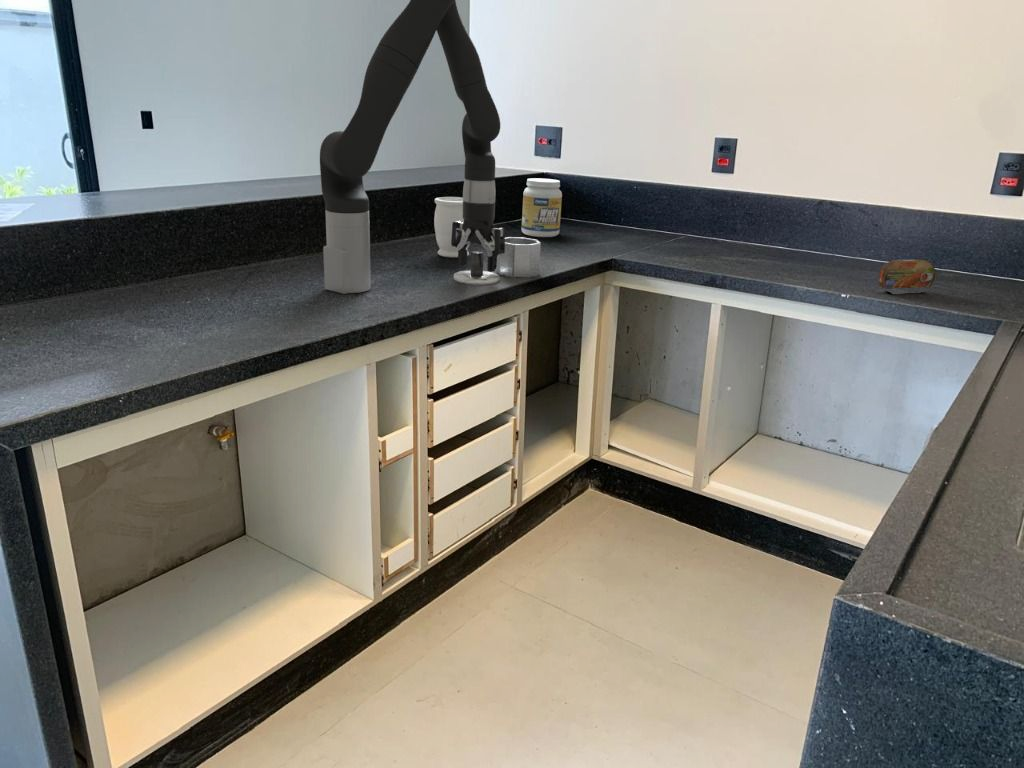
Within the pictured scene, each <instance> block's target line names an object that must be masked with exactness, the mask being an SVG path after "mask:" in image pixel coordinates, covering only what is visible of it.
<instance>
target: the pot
mask: <svg viewBox="0 0 1024 768" xmlns="http://www.w3.org/2000/svg"><path fill="white" fill-rule="evenodd" d="M541 244H542V243H541V242H540V241H539V240H538V239H534V238H529V237H528V238H527V237H523V236H522V237H519V236H518V237H515V236H514V237H512V236H509V237H508V236H507V237H505V253H503V254H499V255H498V256H497V267H496V273H498V275H499V276H503V275H505V276H504V277H508V276H511V277H510V278H516V277H528V279H529V278H533V277H537V276H539V275H540V263H541V262H540V261H541V260H540V259H541V258H540V257H541Z"/></svg>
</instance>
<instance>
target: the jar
mask: <svg viewBox="0 0 1024 768" xmlns="http://www.w3.org/2000/svg"><path fill="white" fill-rule="evenodd" d="M434 203H435V204H436V205H435V206H436V207H435V210H434V219H433V220H434V221H433V225H434V232H435V239H436V244H437V246H438V247H439V250H438V251H437V254H438V255H439V256H441V257H445V258H452V259H453V258H455V259H456V258H457V259H458V249H457V248H456V247H455V246H452V245H451V239H452V224H453V222H455V221H462V222H463V223H464V219H463V217H462V216H463V196H462V197H460V196H441V197H436V198H434ZM464 234H465V232H464V230H462V237H463V235H464ZM470 245H471V243H470V244H469V246H468V247H467V248H466V250H467V257H468V256H469V255H470V253H469V250H468V249H469V247H470Z"/></svg>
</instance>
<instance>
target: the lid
mask: <svg viewBox="0 0 1024 768" xmlns="http://www.w3.org/2000/svg"><path fill="white" fill-rule="evenodd" d="M484 253H485V252H484V251H471V252H470V270H460V271H457V272H455V273H454V274H453V281H455V282H457V283H461V284H466V285H471V284H472V285H474V286H483V285H484V286H485V285H486V284H488V285H494V284H496V283H499V282H500V279H501V278H500V276H501V275H499V273H498V274H497V272H496V273H495V272H494V271H493V272H488V271H486V270H484V259H485V257H484ZM498 281H499V282H498ZM493 283H494V284H493ZM472 285H471V286H472ZM486 286H487V285H486Z"/></svg>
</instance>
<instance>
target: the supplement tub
mask: <svg viewBox="0 0 1024 768" xmlns="http://www.w3.org/2000/svg"><path fill="white" fill-rule="evenodd" d="M526 186H527V187H525V188H524V191H523V198H522V214H521V215H522V216H521V217H522V218H521V232H522V233H523V234H524V235H527V236H530V237H537V238H553V237H556V236H558V235H559V234H560V228H561V213H562V201H563V199H562V197H563V193H562V191H561V190H560V187H561V181H560V180H558V179H552V178H539V177H538V178H535V177H534V178H533V177H532V178H527V180H526Z"/></svg>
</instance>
